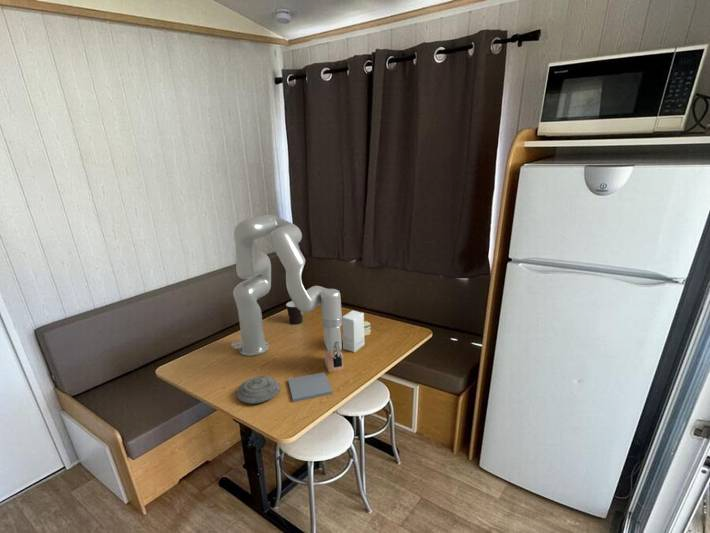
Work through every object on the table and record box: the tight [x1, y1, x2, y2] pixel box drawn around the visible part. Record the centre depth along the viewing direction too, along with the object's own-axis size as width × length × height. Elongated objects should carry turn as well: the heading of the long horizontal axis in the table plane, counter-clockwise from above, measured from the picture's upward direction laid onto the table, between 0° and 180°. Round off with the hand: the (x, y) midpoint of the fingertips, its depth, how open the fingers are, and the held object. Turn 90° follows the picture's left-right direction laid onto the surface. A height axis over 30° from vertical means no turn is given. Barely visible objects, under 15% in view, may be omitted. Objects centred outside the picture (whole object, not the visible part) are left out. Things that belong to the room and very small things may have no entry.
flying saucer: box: [236, 375, 281, 405], centre depth 133 cm, size 15×15×6 cm
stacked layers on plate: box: [364, 320, 372, 337], centre depth 175 cm, size 10×9×6 cm
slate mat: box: [287, 371, 333, 403], centre depth 136 cm, size 14×13×1 cm
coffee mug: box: [285, 300, 304, 326], centre depth 191 cm, size 12×9×10 cm
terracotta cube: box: [324, 349, 345, 372], centre depth 149 cm, size 6×6×6 cm
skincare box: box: [341, 310, 366, 353], centre depth 162 cm, size 8×7×16 cm
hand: (334, 360), depth 149 cm, fingers open, 9 cm apart
